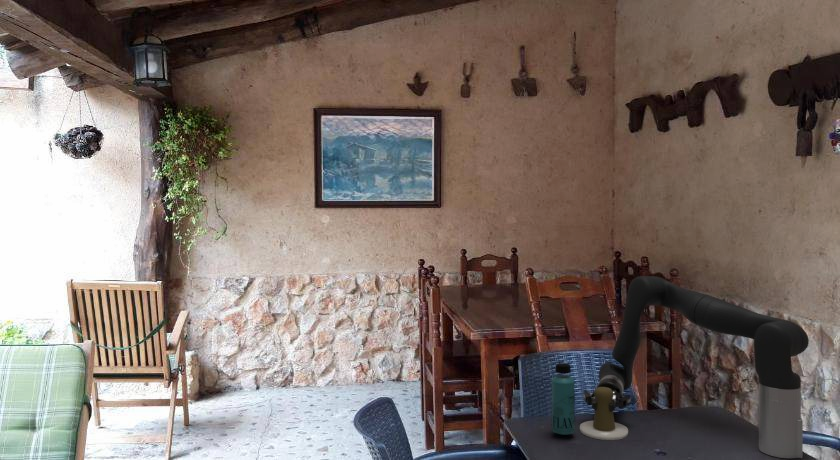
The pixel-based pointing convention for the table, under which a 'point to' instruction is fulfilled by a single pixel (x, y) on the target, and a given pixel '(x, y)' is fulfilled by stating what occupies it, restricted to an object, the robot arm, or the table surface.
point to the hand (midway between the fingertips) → (602, 407)
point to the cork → (603, 409)
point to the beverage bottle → (563, 401)
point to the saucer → (613, 434)
